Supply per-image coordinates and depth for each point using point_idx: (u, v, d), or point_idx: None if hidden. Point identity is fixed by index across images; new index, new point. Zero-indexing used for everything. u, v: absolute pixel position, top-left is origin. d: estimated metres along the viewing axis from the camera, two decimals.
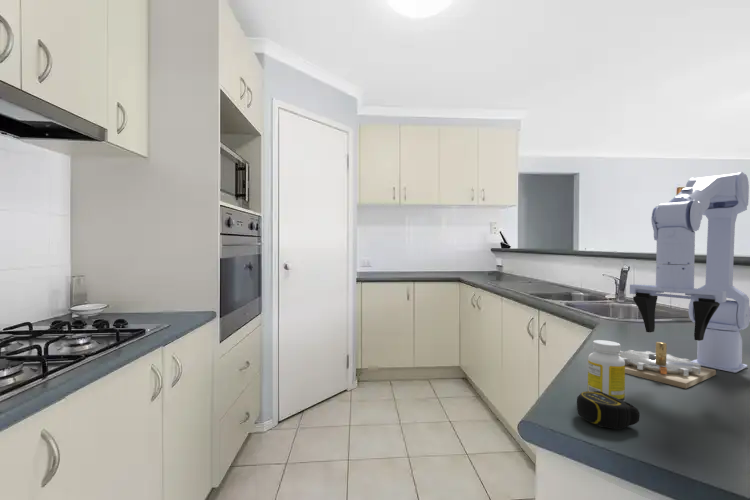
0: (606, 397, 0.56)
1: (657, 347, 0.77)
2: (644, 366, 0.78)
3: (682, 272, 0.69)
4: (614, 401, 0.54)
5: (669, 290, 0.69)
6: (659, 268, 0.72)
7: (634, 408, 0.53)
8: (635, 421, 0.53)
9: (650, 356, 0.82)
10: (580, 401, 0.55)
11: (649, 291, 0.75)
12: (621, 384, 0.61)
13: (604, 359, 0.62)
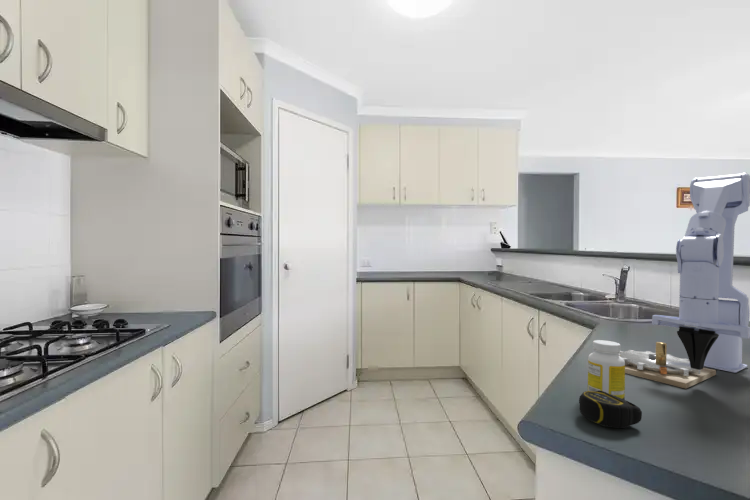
0: (608, 396, 0.56)
1: (657, 347, 0.77)
2: (644, 366, 0.78)
3: (707, 306, 0.70)
4: (616, 400, 0.55)
5: (694, 324, 0.70)
6: (683, 301, 0.73)
7: (636, 407, 0.53)
8: (637, 420, 0.53)
9: (650, 356, 0.82)
10: (582, 401, 0.55)
11: (672, 323, 0.76)
12: (621, 384, 0.61)
13: (604, 359, 0.62)
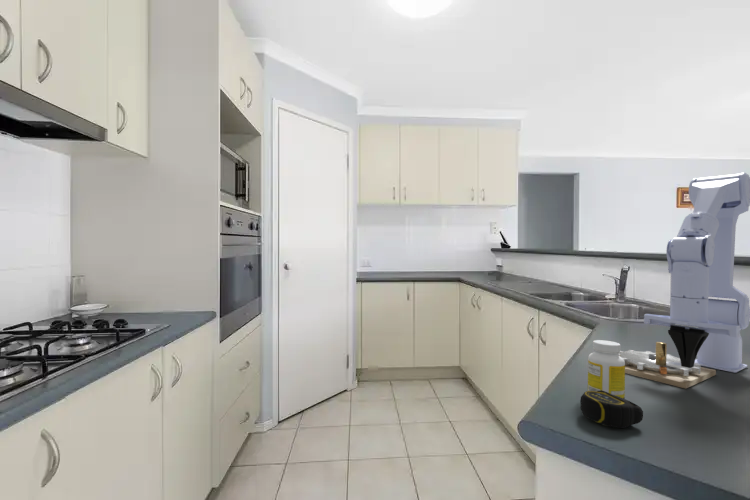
0: (609, 396, 0.56)
1: (657, 347, 0.77)
2: (644, 366, 0.78)
3: (697, 305, 0.71)
4: (618, 400, 0.55)
5: (684, 323, 0.71)
6: (674, 301, 0.74)
7: (638, 407, 0.53)
8: (639, 420, 0.53)
9: (650, 356, 0.82)
10: (584, 401, 0.56)
11: (663, 322, 0.77)
12: (621, 384, 0.61)
13: (604, 359, 0.62)
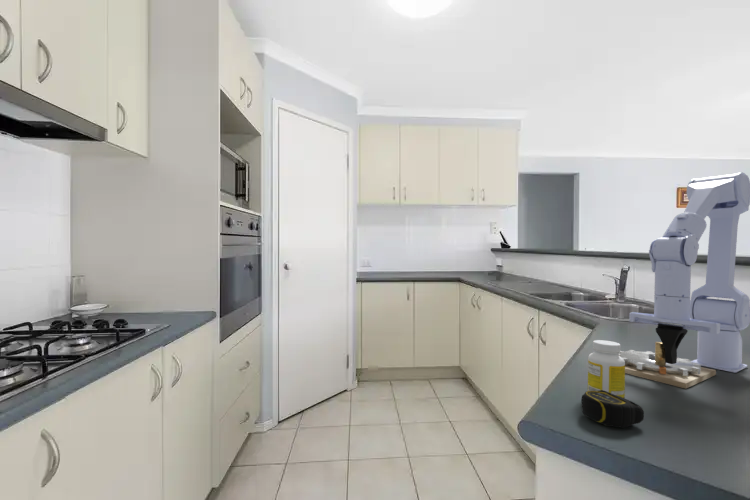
0: (610, 396, 0.56)
1: (656, 347, 0.77)
2: (644, 366, 0.78)
3: (679, 304, 0.73)
4: (618, 400, 0.55)
5: (667, 321, 0.73)
6: (657, 299, 0.76)
7: (638, 407, 0.54)
8: (639, 420, 0.53)
9: (650, 356, 0.82)
10: (585, 400, 0.56)
11: (648, 320, 0.79)
12: (621, 384, 0.61)
13: (604, 359, 0.62)
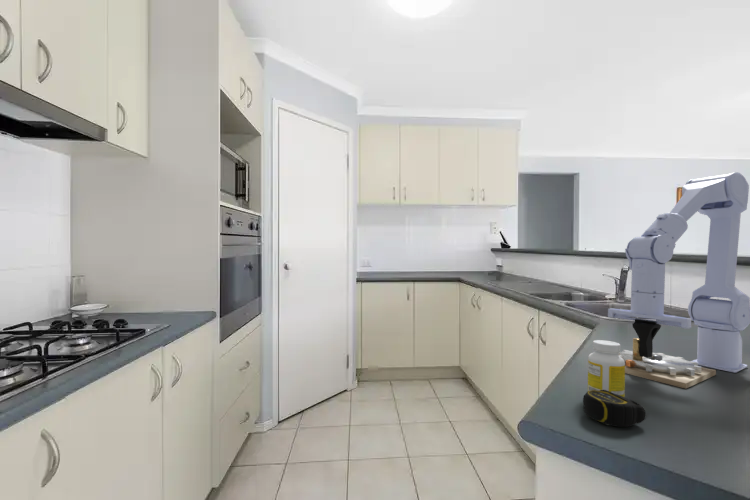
0: (612, 396, 0.56)
1: None
2: None
3: (653, 300, 0.77)
4: (620, 400, 0.55)
5: (641, 316, 0.77)
6: (633, 295, 0.80)
7: (640, 406, 0.54)
8: (641, 419, 0.53)
9: None
10: (587, 400, 0.56)
11: (625, 315, 0.83)
12: (621, 384, 0.61)
13: (604, 359, 0.62)
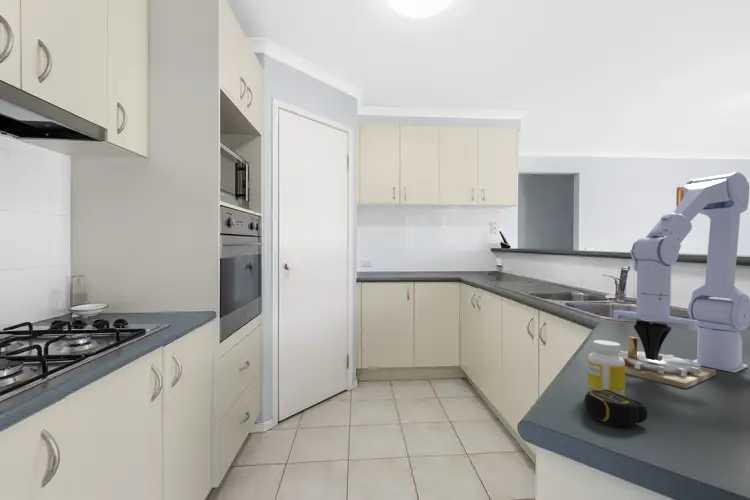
0: (614, 395, 0.57)
1: None
2: None
3: (659, 302, 0.76)
4: (622, 399, 0.55)
5: (647, 318, 0.76)
6: (639, 297, 0.79)
7: (642, 406, 0.54)
8: (643, 419, 0.53)
9: None
10: (588, 399, 0.56)
11: (630, 317, 0.82)
12: (621, 384, 0.61)
13: (604, 359, 0.62)
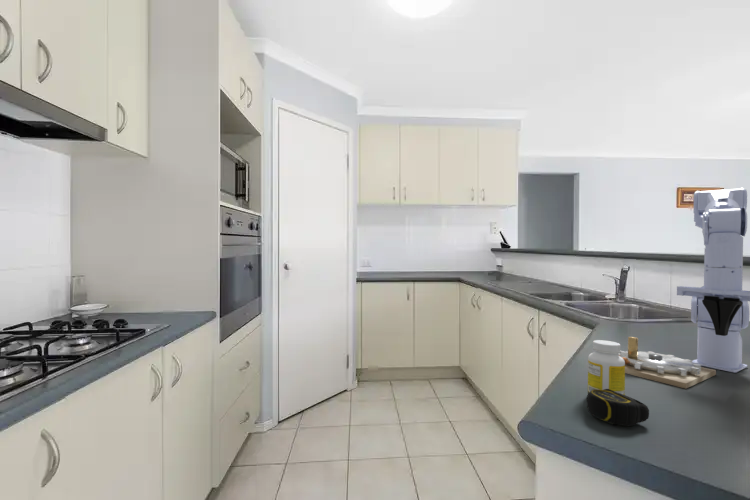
0: (616, 395, 0.57)
1: None
2: None
3: (732, 275, 0.73)
4: (624, 399, 0.55)
5: (719, 292, 0.73)
6: (708, 271, 0.76)
7: (644, 405, 0.54)
8: (645, 418, 0.54)
9: None
10: (590, 399, 0.56)
11: (696, 293, 0.79)
12: (621, 384, 0.61)
13: (604, 359, 0.62)
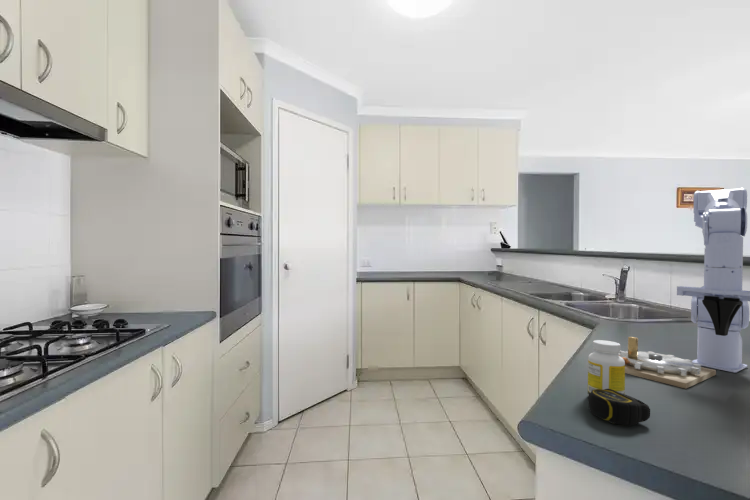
0: (617, 394, 0.57)
1: None
2: None
3: (732, 275, 0.73)
4: (625, 398, 0.56)
5: (719, 292, 0.73)
6: (708, 271, 0.76)
7: (645, 405, 0.54)
8: (646, 418, 0.54)
9: None
10: (592, 399, 0.56)
11: (696, 293, 0.79)
12: (621, 384, 0.61)
13: (604, 359, 0.62)
